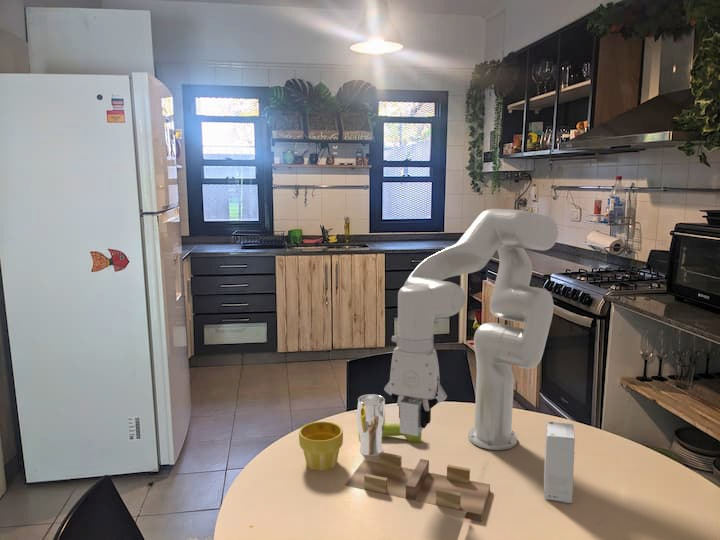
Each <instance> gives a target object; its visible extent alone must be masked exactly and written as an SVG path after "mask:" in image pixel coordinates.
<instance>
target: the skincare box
mask: <svg viewBox="0 0 720 540" xmlns="http://www.w3.org/2000/svg"><path fill="white" fill-rule="evenodd" d="M575 440H576V435H575V429H574V424H572V423H564V422H555V421H554V422H553V421H546V430H545V445H544V447H545V449H544V464H543V467H544V469H543V470H544V471H543V491H544V499H545V500H548V501H549V500H550V501H556V502H558V503H559V502H560V503H566V504H569V505H570V504H573V497H574V496H573V493H574V469H575V465H574V463H575V462H574V461H575V444H576V443H575V442H576V441H575Z"/></svg>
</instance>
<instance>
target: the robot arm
mask: <svg viewBox="0 0 720 540" xmlns="http://www.w3.org/2000/svg"><path fill="white" fill-rule="evenodd" d="M558 237H559V228H558V224H557V222H556V220H555V219H553V218H552V217H551V216H548V215H545V214H544V215H543V214H541V213H537V212H536V213H535V212H534V211H533V212H532V211H528V210H522V209H507V208H506V209H505V208H488V209H485V210H483V211H482V212H481V213H480V214H479V215H478V216H477V217H476V218H475V220H474V221H473V222H472V223H471V225H470V226H469V227H467V230H466V231H465V232H464V233H463V234H462V235H461V237H460V238H459V239H458V241H457V242H456V243H454V244H453V245H451V246H448V247H446V248H444V249H441V251H438V252H436V253H434V254H432V255H430V256H428V257H427V258H425V259H424V260H423V261H421V262H420V263H419V264H418V265H417V266H416V267H415V269H414V270H413V271H412V272H411V273H410V274H409V276H408V277H407V279H406V280H405V282H404V284H403V285H402V287H401V288H399V290H398V292H397V335H392V336H391V342H392V343H394V344H395V343H396V347H395V348H394V349H393V352H392V357H391V365H390V373H389V380H388V382H387V383H386V385H385V386H384V388H383V390H384V392H385V393H387V394H388V395H389V396H391V398H392V399H393V400H394V402H396V405H397V407H398V418H399V419H400V401H401V400H402V399H403V398H404V397H405V396H406V397H412V398H419V399H422V400H423V406H424V407H423V410H422V417H421V427H422V428H423V429H425V428H426V427H427V426H428V425H429V424H430V423H431V420H432V419H431V418H432V413H431V412H432V411H431V410H432V408H434V407H435V406H436V405H437V404H439V403H442V402H444V401H446V400H447V398H448V395H447V393H446V391H445V390H444V388H443V387H442V385H441V383H440V382H441V381H440V367H439V361H438V354H437V350H436V349H435V348H434V322H435V321H434V320H435V318H447V317H452V316H455V315H456V314H458V313H460V311H461V310H462V309H463V308H464V305H465V302H466V294H465V291H464V290H463V288H462V286H460V285H459V284H457V283H456V282H455V283H454V282H451V281H445V280H446V279H448V278H452V277H456V276H457V277H458V276H463V275H469V274H472V273H475V272H478V271H481V270H482V269H484V267H486V266H487V264H488V262H489V261H490V260H491V259H492V257H493V256H494V255H495V253H496V252H497V253H498V258H499V265H498V269H497V275H496V278H495V281H494V286H493V290H492V293H491V297H490V302H489V311H490V312H491V314H492V315H493V316H494V317H496V318H499V319H501V320H505V321H511V322H515V323H519V324H523V325H524V328H522V327H516V326H513V325H508V324H504V323H499V322H485V323H483V324H481V325H480V326H478V327H477V328H476V329H475V332H474V336H473V347H474V353H475V354H474V355H475V361H476V362H475V363H476V378H475V379H476V380H475V381H476V382H475V408H474V409H475V410H474V426H473V427H472V428H471V429H469V430H468V433H467V434H468V436H467V438H468V439H469V441H470V443H472V444H473V445H475V446H477V447H479V448H482V449H485V450H492V451H505V450H510V449H512V448H514V447H515V446H516V445H517V443H518V437H517V435H516V433H515V432H513V431H512V424H513V408H514V407H513V406H514V405H513V404H514V388H515V387H514V386H515V378H514V376H515V375H514V373H513V372H514V371H513V369H512V367H511V366H513V367H518V368H521V369H527V370H529V369H534V368H536V367H537V366H538V365H539V364H540V362H541V360H542V358H543V355H544V351H545V347H546V344H547V340H548V336H549V330H550V327H551V325H552V319H553V315H554V305H555V304H554V299H553V296H552V295H551V292H549V291H548V290H547V289H544V288H541V287H534V286H530V283H531V280H532V275H533V265H532V261H531V259H530V257H529V255H528V253H527V252H526V250H537V251H548V250H550V249H551V248H552V247H554V245H555V244H556V243H557V240H558ZM525 249H526V250H525ZM436 394H437V395H436Z"/></svg>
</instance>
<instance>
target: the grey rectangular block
mask: <svg viewBox="0 0 720 540" xmlns="http://www.w3.org/2000/svg"><path fill="white" fill-rule="evenodd" d="M423 407H424V406H423V400H422V399H419V398H412V397H406V396H405V397H404V398H403V399H402V400H401V401H400V418H399V424H400V433H403V434H409V435H414V436H418V435H419V434H420V432H421V431H423V429H424V428H422V427H421V417H422V410H423Z"/></svg>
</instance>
